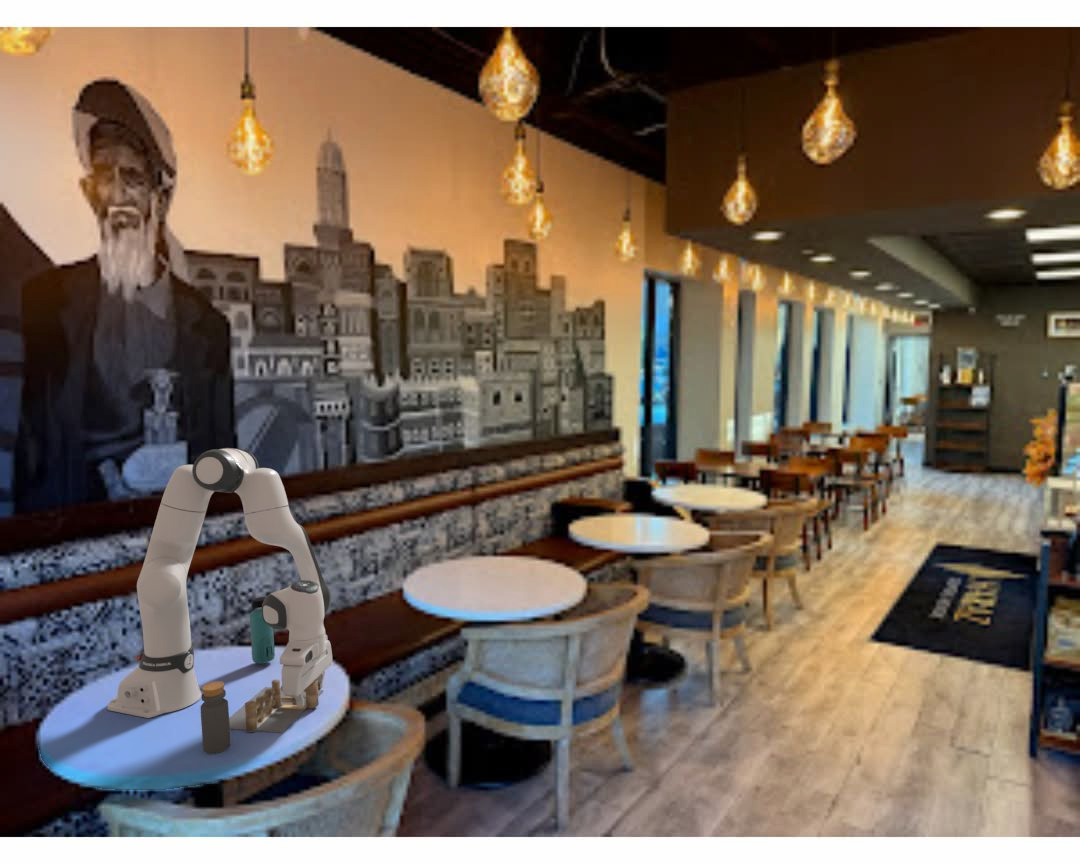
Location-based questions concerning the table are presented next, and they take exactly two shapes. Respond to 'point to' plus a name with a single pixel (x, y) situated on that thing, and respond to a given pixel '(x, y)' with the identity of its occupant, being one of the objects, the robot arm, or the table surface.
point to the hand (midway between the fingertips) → (310, 697)
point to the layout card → (270, 715)
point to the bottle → (215, 718)
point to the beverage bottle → (261, 635)
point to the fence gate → (310, 696)
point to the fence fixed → (258, 705)
